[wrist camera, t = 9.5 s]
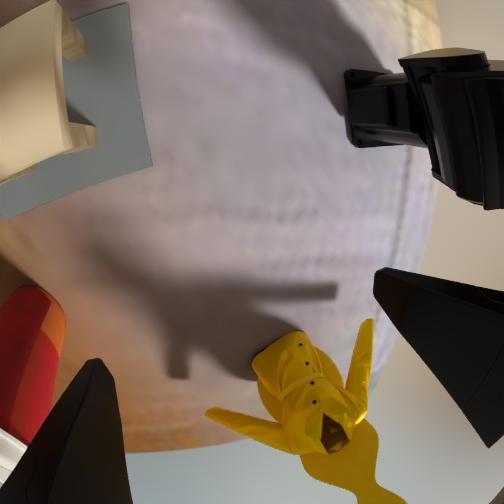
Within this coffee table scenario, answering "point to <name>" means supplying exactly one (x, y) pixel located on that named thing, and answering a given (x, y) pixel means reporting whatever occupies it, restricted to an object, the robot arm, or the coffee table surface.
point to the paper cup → (27, 368)
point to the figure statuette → (317, 413)
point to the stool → (38, 91)
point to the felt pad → (91, 117)
